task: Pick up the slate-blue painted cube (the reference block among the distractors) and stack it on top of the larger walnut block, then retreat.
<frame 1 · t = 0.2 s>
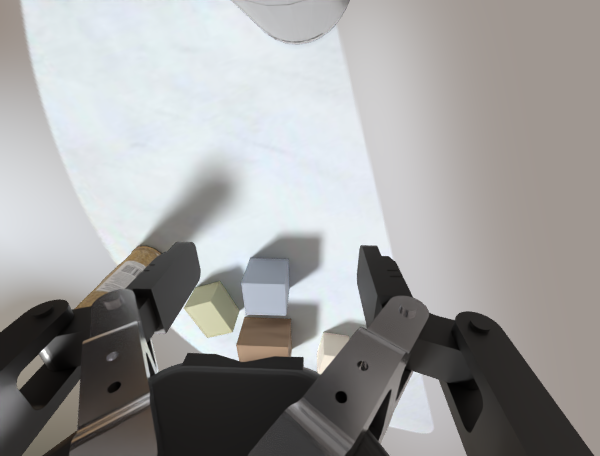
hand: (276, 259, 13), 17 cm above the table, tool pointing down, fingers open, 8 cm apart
sprinkles bottle: (151, 258, 36), on the table
walnut block: (269, 332, 42), on the table
olive block: (218, 298, 39), on the table
cream block: (332, 343, 42), on the table
slate block: (270, 273, 36), on the table
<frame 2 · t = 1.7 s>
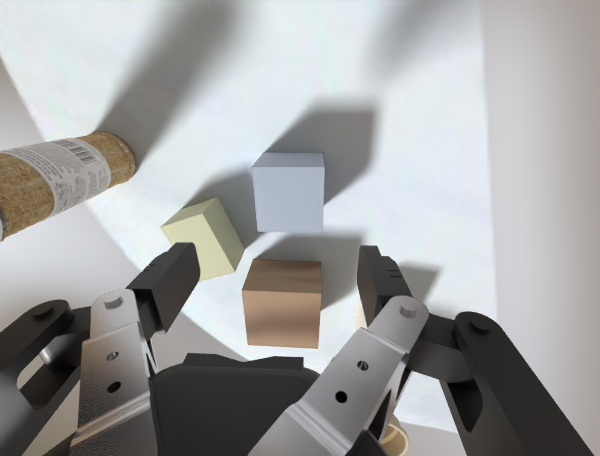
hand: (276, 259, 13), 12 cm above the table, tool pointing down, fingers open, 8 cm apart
sprinkles bottle: (113, 157, 24), on the table
walnut block: (287, 286, 29), on the table
olive block: (214, 229, 26), on the table
slate block: (293, 180, 24), on the table
flower pot: (351, 365, 35), on the table
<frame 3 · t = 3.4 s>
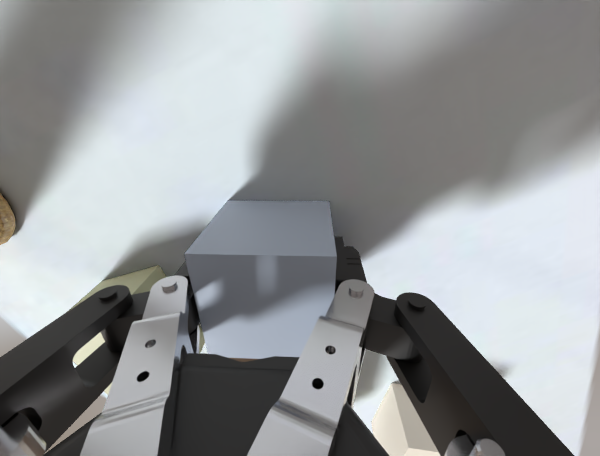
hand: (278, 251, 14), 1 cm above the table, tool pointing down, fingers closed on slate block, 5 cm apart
olive block: (158, 308, 17), on the table
cream block: (406, 405, 20), on the table
slate block: (280, 244, 14), on the table, touching gripper
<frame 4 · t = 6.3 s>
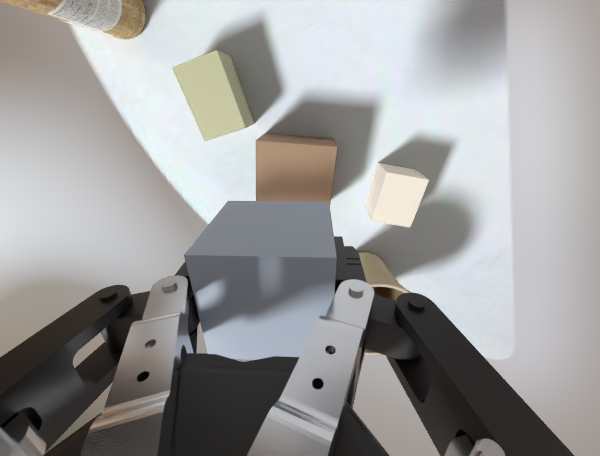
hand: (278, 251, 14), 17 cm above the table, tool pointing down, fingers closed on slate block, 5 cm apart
sprinkles bottle: (123, 10, 23), on the table
walnut block: (297, 169, 29), on the table
olive block: (224, 98, 26), on the table
cream block: (388, 188, 29), on the table
slate block: (280, 245, 14), point 16 cm above the table, touching gripper
flower pot: (360, 270, 34), on the table
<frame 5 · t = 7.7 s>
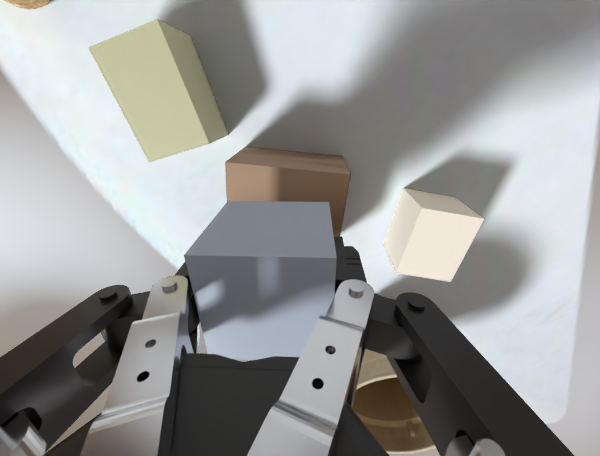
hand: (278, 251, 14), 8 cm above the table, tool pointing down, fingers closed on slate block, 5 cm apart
walnut block: (290, 196, 21), on the table
olive block: (184, 97, 18), on the table
cream block: (416, 221, 21), on the table
slate block: (280, 245, 14), point 7 cm above the table, touching gripper
flower pot: (374, 321, 26), on the table
when the fingers open (7 cm above the table, at t = 9.2 s): slate block drops 1 cm, point 5 cm above the table.
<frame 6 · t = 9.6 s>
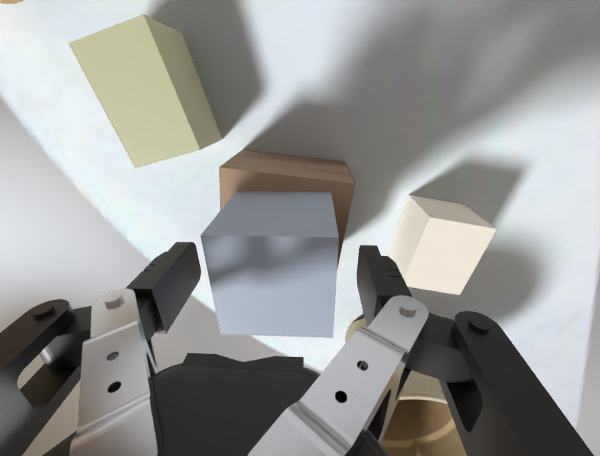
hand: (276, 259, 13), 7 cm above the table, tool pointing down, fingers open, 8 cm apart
walnut block: (289, 203, 20), on the table
olive block: (176, 99, 17), on the table
cream block: (422, 229, 20), on the table
slate block: (285, 233, 15), point 5 cm above the table
flower pot: (377, 333, 25), on the table
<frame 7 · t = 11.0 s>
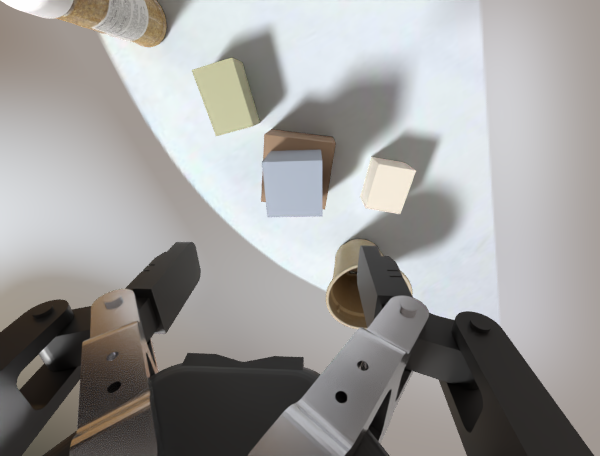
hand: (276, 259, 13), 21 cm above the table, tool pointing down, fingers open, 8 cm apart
sprinkles bottle: (147, 21, 27), on the table
walnut block: (298, 163, 32), on the table, touching slate block
olive block: (234, 98, 29), on the table
cream block: (381, 179, 32), on the table
slate block: (296, 174, 28), point 5 cm above the table, touching walnut block
flower pot: (357, 256, 37), on the table
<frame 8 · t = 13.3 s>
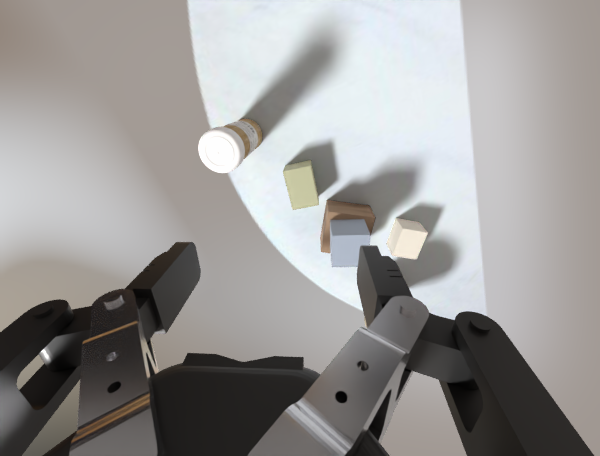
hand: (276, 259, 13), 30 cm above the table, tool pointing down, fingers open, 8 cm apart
sprinkles bottle: (248, 134, 40), on the table
walnut block: (343, 221, 45), on the table, touching slate block
olive block: (302, 180, 42), on the table
cream block: (402, 232, 45), on the table
slate block: (346, 234, 41), point 5 cm above the table, touching walnut block
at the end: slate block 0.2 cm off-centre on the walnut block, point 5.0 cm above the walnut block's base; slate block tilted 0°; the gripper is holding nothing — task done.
